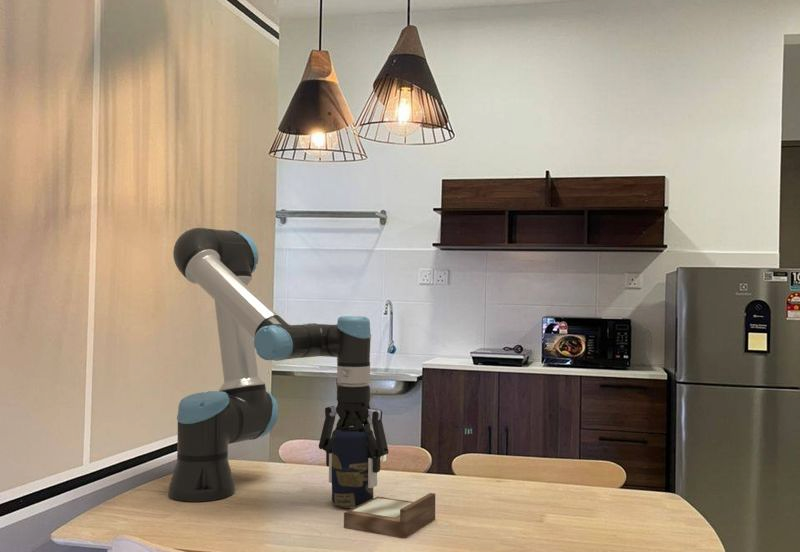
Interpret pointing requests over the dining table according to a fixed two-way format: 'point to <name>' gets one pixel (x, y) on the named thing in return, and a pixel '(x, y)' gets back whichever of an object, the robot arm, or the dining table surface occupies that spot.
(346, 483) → the canister
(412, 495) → the dining table surface
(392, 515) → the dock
